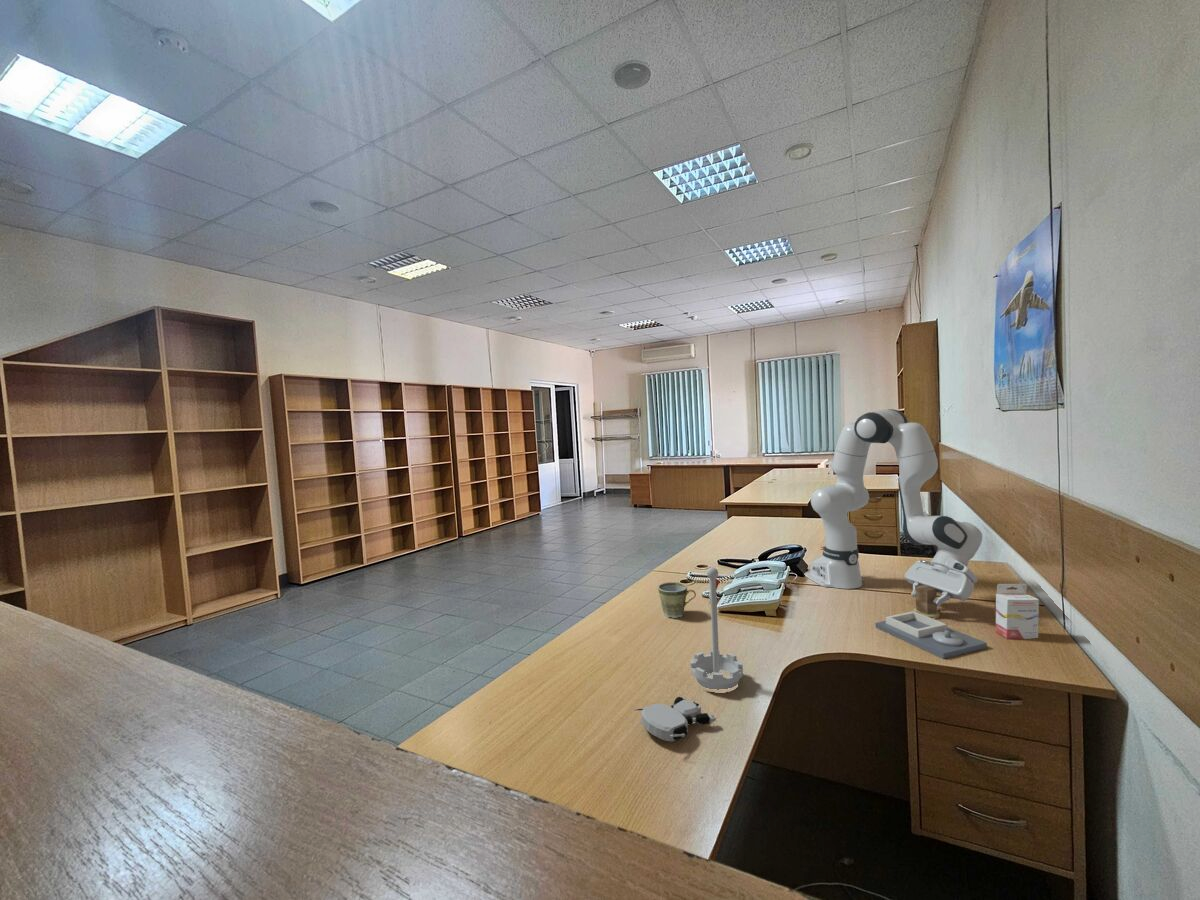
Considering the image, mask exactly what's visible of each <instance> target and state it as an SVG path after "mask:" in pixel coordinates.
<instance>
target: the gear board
mask: <svg viewBox="0 0 1200 900" xmlns="http://www.w3.org/2000/svg"><path fill="white" fill-rule="evenodd" d="M875 628H876V629H878V628H879V629H878V630H880V629H881V630H880V631H882V630H883V632H884V631H885V632H884V633H886V632H887V633H886V634H888V633H889V634H888V635H891V636H893V637H895V638H898V639H899V640H901V639H902V641H903V640H904V641H903V642H906V643H909V644H910V645H912V646H914V647H917V648H919V649H921V650H923V651H925V652H928V653H930V654H932V655H934V656H936V657H938V658H940V659H942V660H946V659H950V658H953V657H958V656H962V655H965V654H969V653H972V652H975V651H976V652H977V651H981V650H984V649H987V645H988V643H987V642H986V641H983V640H981V639H978V638H975V637H973V636H970V635H967V634H965V633H963V632H961V631H958V630H956V629H953V628H950V627H948V624H946V623H944V622H942V621H939V620H938V619H932V618H929V617H927V616H924V615H922V614H919V613H916V612H914V610H912V611H908V612H903V613H900V614H899V613H898V614H893V615H890V616H885V620H883V621H877V622H875Z"/></svg>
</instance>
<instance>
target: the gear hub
mask: <svg viewBox="0 0 1200 900" xmlns="http://www.w3.org/2000/svg"><path fill="white" fill-rule="evenodd" d="M937 593H938V592H937V589H935V588H932V587H929V586H926V585H923V586H918V587H916V598H915V607H914V608H913V611H914V612H916V613H919V614H922V615H924V616H927V617H929V618H938V619H939V618H940V617H941V616H940V611H938V608H937V607H938V605H935V604H934V603H933V601H934V599H935V598H938V597H937V595H938V594H937ZM939 616H940V617H939Z"/></svg>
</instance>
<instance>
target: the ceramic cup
mask: <svg viewBox="0 0 1200 900" xmlns="http://www.w3.org/2000/svg"><path fill="white" fill-rule="evenodd" d="M657 590H658V595H659V599H660V603H661V608H662V613H663V615H664V617H666V616H667V617H666V618H668V617H672V618H671V619H674V618H676V619H678V618H677V617H680V618H683V616H684V615H685V607H686V605H688V604H689V603H690V602H691V601H692V600H694V599H695V597H697V595H696V594H697V593H696V591H695V590H694V589H688V586H687V584H684V583H683V582H677V581H676V582H675V581H668V582H663V583H661V584H659V585H658V587H657ZM689 593H693V594H694V596H693V597H691V598H689V599H688V601H686V598H687V595H688V594H689ZM683 614H684V615H683Z"/></svg>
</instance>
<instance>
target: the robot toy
mask: <svg viewBox="0 0 1200 900" xmlns="http://www.w3.org/2000/svg"><path fill="white" fill-rule="evenodd" d="M633 711H636V712H637V711H641V715H640V716H641V724H642V726H643V728H645V729H646V731H647V732H649V734H651V735H653V736H655V737H657V738H658V739H660V740H661V741H662V740H663V741H666V742H675V741H678V740H680V739H682V738H685V737H686V736H687V734H688V732H689V731H688V729H689V725H688V724H692V723H693V722H696V723H698V724H700V725H709V724H710V722H712V723H713V722H716V720H717V718H716V717H715V715H713V714H709V713H706V712H705V713H704V712H703V713H702V706H701V704H699V703H696V701H694V700H689V699H687V698H686V697H683V696H682V695H681V696H680V695H679V696H676V698H675V699H674V701H673V704H672V705H671V706H670V705H667V704H665V703H654V704H650V705H648V706H645V707H643V708H641V707H640V708H633Z"/></svg>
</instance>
